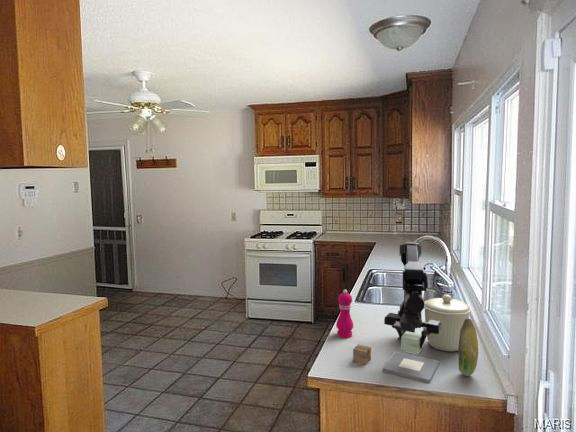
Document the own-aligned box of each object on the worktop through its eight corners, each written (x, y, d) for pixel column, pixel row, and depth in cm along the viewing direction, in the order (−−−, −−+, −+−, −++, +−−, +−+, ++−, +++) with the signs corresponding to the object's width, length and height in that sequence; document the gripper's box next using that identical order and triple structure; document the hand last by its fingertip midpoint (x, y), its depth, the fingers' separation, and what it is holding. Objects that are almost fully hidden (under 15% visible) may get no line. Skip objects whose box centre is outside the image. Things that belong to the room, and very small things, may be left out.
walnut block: (357, 356, 154) (358, 344, 153) (370, 359, 151) (371, 346, 151) (353, 362, 149) (353, 349, 149) (366, 365, 147) (366, 352, 146)
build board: (395, 353, 156) (395, 351, 156) (439, 363, 148) (439, 360, 148) (382, 371, 142) (382, 368, 142) (429, 382, 134) (429, 379, 134)
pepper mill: (340, 339, 170) (340, 292, 168) (333, 333, 177) (333, 288, 175) (356, 337, 172) (356, 291, 170) (349, 331, 179) (349, 286, 177)
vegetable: (479, 375, 139) (482, 318, 137) (473, 383, 134) (476, 324, 132) (461, 370, 143) (463, 314, 141) (454, 376, 138) (457, 319, 136)
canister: (466, 339, 169) (468, 290, 167) (473, 358, 152) (476, 303, 149) (420, 335, 174) (421, 287, 172) (422, 353, 156) (424, 299, 154)
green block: (405, 344, 148) (405, 331, 148) (422, 347, 145) (422, 334, 145) (400, 350, 143) (401, 336, 143) (418, 354, 140) (418, 340, 140)
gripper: (379, 305, 141) (378, 349, 142) (436, 314, 131) (434, 361, 133) (389, 297, 150) (388, 337, 152) (442, 305, 141) (441, 348, 142)
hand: (411, 346), depth 144 cm, fingers closed on green block, 6 cm apart
